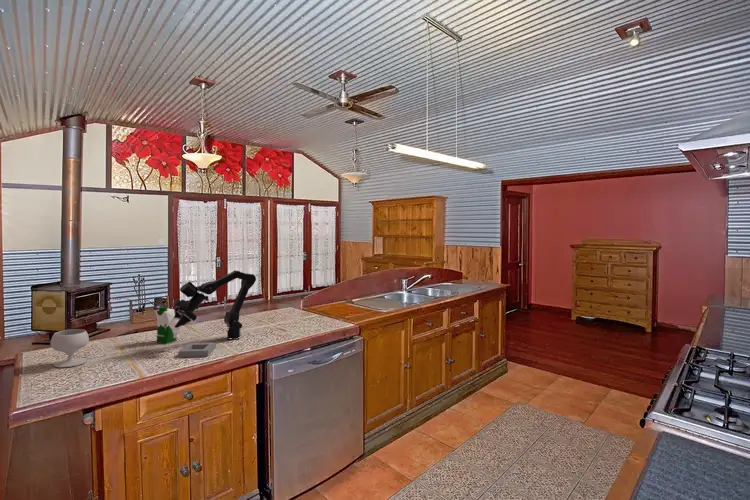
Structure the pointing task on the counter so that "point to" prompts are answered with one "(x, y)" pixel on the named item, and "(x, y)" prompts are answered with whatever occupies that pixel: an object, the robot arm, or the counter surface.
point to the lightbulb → (172, 326)
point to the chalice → (69, 345)
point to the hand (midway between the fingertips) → (173, 326)
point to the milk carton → (164, 325)
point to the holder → (197, 350)
